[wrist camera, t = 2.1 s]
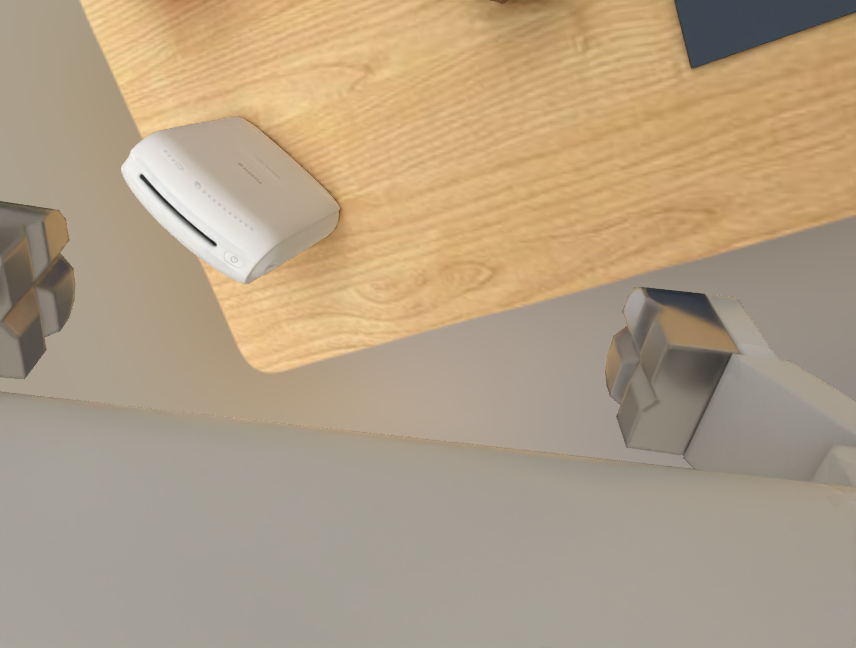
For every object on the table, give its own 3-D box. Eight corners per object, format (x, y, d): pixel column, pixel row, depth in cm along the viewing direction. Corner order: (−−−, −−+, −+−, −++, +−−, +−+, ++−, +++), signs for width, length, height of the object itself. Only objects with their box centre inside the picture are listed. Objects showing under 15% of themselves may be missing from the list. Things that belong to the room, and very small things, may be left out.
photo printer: (354, 208, 50) (269, 254, 39) (318, 252, 52) (229, 308, 41) (241, 104, 50) (124, 121, 39) (210, 152, 52) (89, 181, 41)
